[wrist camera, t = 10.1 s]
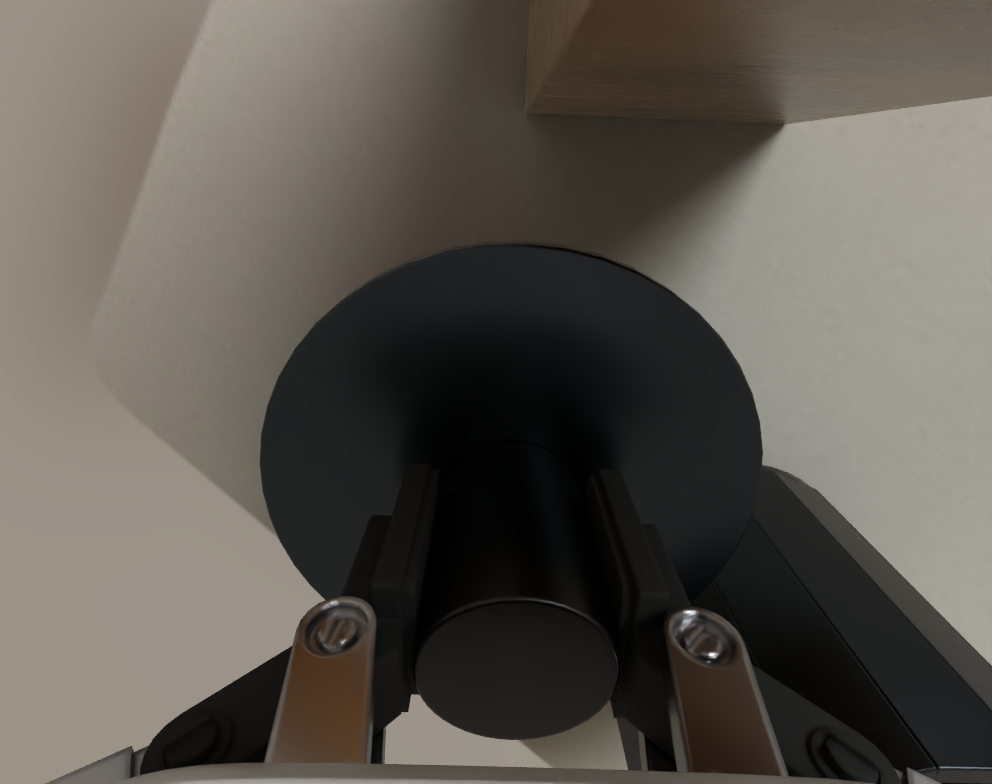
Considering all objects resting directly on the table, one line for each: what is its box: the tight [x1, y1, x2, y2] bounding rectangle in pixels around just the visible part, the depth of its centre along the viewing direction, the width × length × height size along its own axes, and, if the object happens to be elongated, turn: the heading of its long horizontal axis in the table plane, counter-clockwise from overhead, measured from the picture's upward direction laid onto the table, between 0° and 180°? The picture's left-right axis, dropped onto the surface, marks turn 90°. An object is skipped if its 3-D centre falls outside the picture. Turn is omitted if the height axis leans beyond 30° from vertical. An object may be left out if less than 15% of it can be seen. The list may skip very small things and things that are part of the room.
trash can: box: [617, 465, 992, 784], centre depth 19 cm, size 12×12×13 cm
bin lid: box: [260, 241, 763, 740], centre depth 11 cm, size 13×13×6 cm
